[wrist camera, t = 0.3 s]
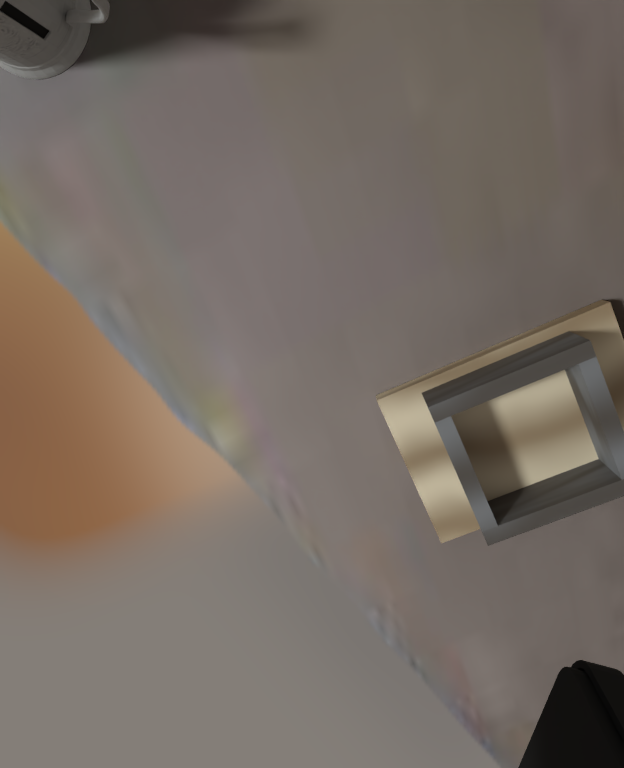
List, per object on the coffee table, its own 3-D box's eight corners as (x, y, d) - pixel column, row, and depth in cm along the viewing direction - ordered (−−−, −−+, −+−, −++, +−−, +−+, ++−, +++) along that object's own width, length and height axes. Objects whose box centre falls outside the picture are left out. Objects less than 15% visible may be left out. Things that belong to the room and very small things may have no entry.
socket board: (376, 395, 46) (379, 415, 41) (601, 299, 43) (636, 308, 38) (438, 534, 49) (449, 570, 43) (656, 452, 46) (696, 480, 40)
